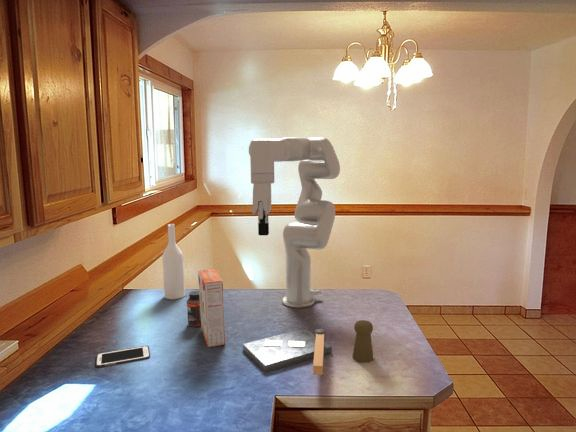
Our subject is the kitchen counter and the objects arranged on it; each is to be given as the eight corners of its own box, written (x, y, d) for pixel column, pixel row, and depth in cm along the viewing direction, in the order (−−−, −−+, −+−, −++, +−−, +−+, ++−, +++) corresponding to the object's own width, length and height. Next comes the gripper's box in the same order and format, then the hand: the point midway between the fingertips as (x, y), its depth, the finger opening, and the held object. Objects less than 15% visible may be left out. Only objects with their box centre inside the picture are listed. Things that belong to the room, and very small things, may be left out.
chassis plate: (305, 334, 141) (305, 323, 140) (331, 352, 128) (331, 341, 128) (243, 350, 130) (242, 339, 130) (265, 372, 117) (265, 360, 117)
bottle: (174, 300, 172) (170, 226, 167) (160, 297, 176) (156, 225, 172) (189, 294, 179) (185, 223, 174) (174, 291, 183) (171, 221, 178)
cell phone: (150, 359, 126) (150, 356, 126) (95, 369, 121) (95, 365, 121) (148, 348, 133) (148, 345, 133) (96, 356, 128) (96, 353, 128)
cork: (360, 365, 121) (361, 327, 119) (348, 355, 126) (348, 320, 125) (377, 359, 124) (378, 323, 122) (364, 351, 129) (365, 316, 127)
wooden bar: (315, 336, 130) (315, 328, 130) (325, 337, 130) (325, 329, 129) (311, 374, 109) (311, 364, 109) (324, 375, 109) (324, 365, 108)
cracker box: (200, 330, 145) (197, 269, 141) (218, 327, 147) (215, 268, 143) (206, 348, 132) (203, 282, 128) (225, 345, 134) (223, 280, 130)
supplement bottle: (207, 320, 152) (206, 290, 151) (202, 327, 147) (201, 295, 145) (191, 320, 153) (189, 289, 151) (185, 327, 147) (184, 295, 145)
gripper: (255, 176, 146) (256, 230, 149) (246, 180, 131) (248, 239, 134) (277, 176, 145) (277, 230, 148) (271, 180, 130) (272, 240, 133)
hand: (263, 234), depth 141 cm, fingers closed
